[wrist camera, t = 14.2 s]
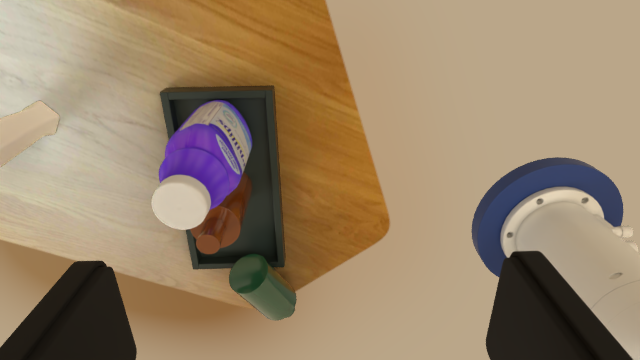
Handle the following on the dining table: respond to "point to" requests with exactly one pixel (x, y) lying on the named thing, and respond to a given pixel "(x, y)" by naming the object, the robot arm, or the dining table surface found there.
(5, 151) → the perfume bottle
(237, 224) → the middle bottle
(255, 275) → the green bottle
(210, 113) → the bottle
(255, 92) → the tray
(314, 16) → the dining table surface
